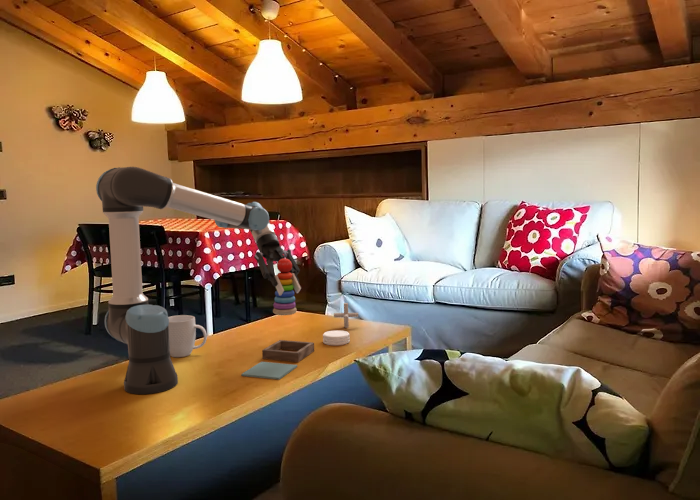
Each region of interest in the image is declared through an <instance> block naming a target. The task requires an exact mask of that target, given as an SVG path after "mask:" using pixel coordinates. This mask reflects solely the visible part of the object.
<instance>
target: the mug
mask: <svg viewBox="0 0 700 500" xmlns="http://www.w3.org/2000/svg"><path fill="white" fill-rule="evenodd" d="M168 319H169V341H170V357H172V358H184V357H188V356H190V355H191V354H192V352H193V350H197V349H200V348H202V347H203V346H204V345H206V342H207V338H208V335H207V331H206V329H205V327H203V326H202V325H200V324H196V317H195V316H194V315H187V314H180V315H178V314H177V315H172V316H168ZM197 329H198V330H199V329H200V331H201V332H202V334H203V340H202V342H201V343H200V344H198V345H195V343H196V339H197V336H196V335H197V332H196V331H197Z"/></svg>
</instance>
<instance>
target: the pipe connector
mask: <svg viewBox="0 0 700 500" xmlns="http://www.w3.org/2000/svg"><path fill="white" fill-rule="evenodd" d="M333 318H343V327H344V328H346V329H348V328H349V325H350V324H349V323H350V322H349V318H359V312H349V302H344V303H343V312H334V313H333Z"/></svg>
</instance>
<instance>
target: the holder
mask: <svg viewBox="0 0 700 500" xmlns="http://www.w3.org/2000/svg"><path fill="white" fill-rule="evenodd" d="M288 350H289V351H288ZM314 351H315V342H313V341H312V342H311V341H310V342H309V341H298V340H297V341H296V340H285V339H284V340H283V339H279V340H277V341H276V342H274V343H272V344H271V345H269V346H267V347H265V348H263V349H262V351H261V354H262V359H263V360H272V361H273V360H274V361H283V362H284V361H285V362H286V361H287V362H294V363H297V362H298V363H299V362H301V361H302V360H303V359H305V358H306V357H307V356H309V355H310V354H312V353H313V352H314Z"/></svg>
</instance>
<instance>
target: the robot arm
mask: <svg viewBox="0 0 700 500" xmlns="http://www.w3.org/2000/svg"><path fill="white" fill-rule="evenodd" d="M95 189H96V190H95V191H96V194H97V196H98V198H99V200H100V201H101V206H102V214H103V215H105V216H106V217H107V218H108V228H109V229H108V230H109V246H110V264H111V265H110V266H111V278H112V280H111V281H112V297H111V298H110V299H108V302H107V303H108V310H107V311H106V314H105V316H104V327H105V329H106V331H107V333H108V334H109V336H111V338H112V339H113V340H114V339H115V340H116V341H118V342H121V343H123V344H126V345H127V349H128V350H127V353H128V365H127V369H126V373H125V377H124V380H123V388H124V389H123V390H124V391H125V392H127V393H129V394H134V395H147V394H148V395H149V394H157V393H161V392H164V391H168V390H170V389H173V388H174V387H176V386H177V385H178V384H179V380H178V379H179V377H178V373H177V372H176V368H175V366H174V363H173V361H172V359H171V355H170V341H169V319H168V317H169V313H168V311H167V309H166V308H165V307H163V306H160V305H158V304H157V305H156V304H155V305H153V304H149V297H147V296H146V295H145V294H144V293H143V275H142V259H141V258H142V257H141V255H142V254H141V241H140V240H141V238H140V236H141V234H140V223H139V222H140V221H139V218H140V216H142V214H143V213H144V207H146V208H154V209H159V210H164V209H166V208H168V209H172V210H174V211H180V212H182V213H187V214H190V215H194V216H199V217H202V218H205V219H210V220H213V221H214V223H215V225H216V226H217V227H219V228H224V229H239V230H249V232H250V233H251V235H252V237H253V240H254V242H255V244H256V246H257V248H258V251H256V252H255V254H254V257H253V258H254V259H255V261H256V262H257V265H258V267H259V269H260V273H261V274H262V277H263V279H265V280H266V279H267V281H269V282H271V284H272V286H273V287H275V290H276V289H277V290H276V291H278V293H279V296H280V295H282V293H283V292H284V289H283V287H282V284H281V282H280V280H279V278H278V276H277V274H275V268H274V266H275V265H274V262H276V263H278V261H279V260H280V259H283V258H286V259H289V260H290V261H291V263H292V269H291V270H290V271H289V272H290V273H291V274H292V277H291V278H290V279H292V281H293V282H292V285H293V286H294V288H293V290H294V292H295V293H296V294H299V293H300V291H301V289H302V286H301V285H300V279H299V277H298V274H300V271H301V269H300V268H299V266H298V263H297V262H296V261H295V257H293V255H292V250H291V249H290V248H288V249H287V250H284V249H283V248H282V247H281V244H280V240H279V239H278V236H277V235H276V232H275V231H274V228H273V226H272V224H271V221H270V216H269V212H268V211H267V210H266V209H265V208H264V207H263V206H262V204H261V203H259V202H258V201H252V202H248V203H246V204H244V203H241V202H238V201H234V200H232V199H228V198H225V197H221V196H218V195H214V194H211V193H208V192H206V191H201V190H198V189H194V188H192V187H188V186H184V185H182V184H178V183H175V182H173V180H172V178H170V177H167V176H163V175H161V174H158V173H155V172H153V171H150V170H147V169H144V168H142V167H139V166H138V167H137V166H125V167H123V166H122V167H121V166H120V167H119V166H118V167H113V168H109V169H108V170H106V171H104V172H103V173H102V174H100V176H99V178H98V179H97V182H96V185H95ZM265 260H266V261H265Z"/></svg>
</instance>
